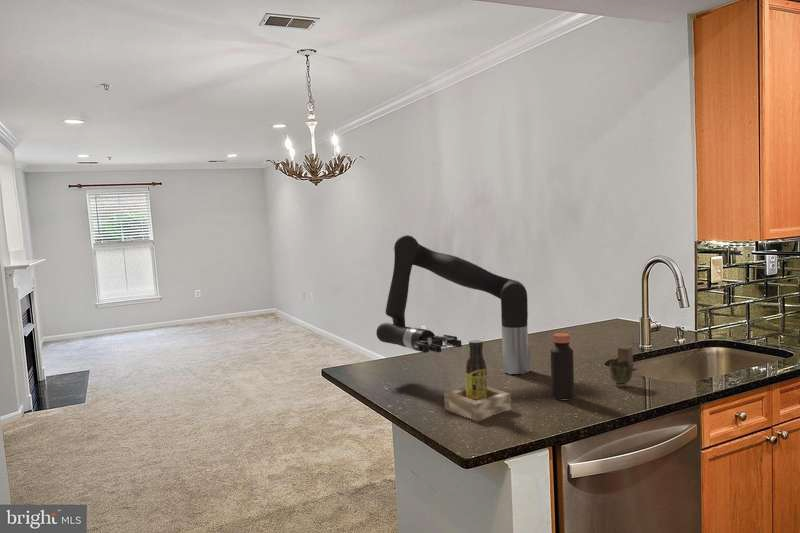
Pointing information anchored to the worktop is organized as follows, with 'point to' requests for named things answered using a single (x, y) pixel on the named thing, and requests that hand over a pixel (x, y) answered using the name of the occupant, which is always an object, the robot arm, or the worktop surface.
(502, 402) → the socket block
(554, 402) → the worktop surface
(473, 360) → the sauce bottle
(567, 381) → the vinegar
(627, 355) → the wooden block
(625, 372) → the cup
